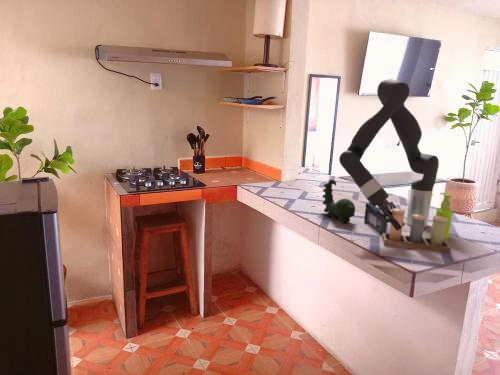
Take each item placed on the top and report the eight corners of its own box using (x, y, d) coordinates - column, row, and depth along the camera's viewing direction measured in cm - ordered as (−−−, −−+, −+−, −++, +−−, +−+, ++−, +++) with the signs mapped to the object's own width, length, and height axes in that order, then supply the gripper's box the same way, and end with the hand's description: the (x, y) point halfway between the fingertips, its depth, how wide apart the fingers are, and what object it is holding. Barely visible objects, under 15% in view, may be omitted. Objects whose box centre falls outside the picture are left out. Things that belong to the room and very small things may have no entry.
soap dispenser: (441, 237, 164) (449, 192, 160) (450, 243, 158) (458, 196, 153) (428, 236, 164) (435, 191, 159) (436, 242, 157) (444, 195, 153)
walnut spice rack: (381, 240, 157) (382, 232, 156) (444, 248, 152) (445, 240, 151) (383, 248, 149) (384, 239, 148) (449, 256, 144) (450, 247, 143)
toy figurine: (317, 215, 194) (344, 227, 170) (318, 178, 191) (346, 185, 168) (333, 214, 197) (362, 225, 173) (334, 177, 194) (364, 184, 171)
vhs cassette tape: (363, 223, 179) (365, 202, 177) (369, 223, 180) (372, 202, 177) (379, 237, 162) (381, 214, 159) (385, 237, 162) (388, 214, 160)
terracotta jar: (387, 236, 154) (391, 207, 152) (400, 237, 153) (404, 209, 150) (388, 240, 150) (392, 211, 147) (401, 241, 149) (405, 212, 146)
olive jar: (427, 244, 151) (432, 215, 148) (440, 245, 150) (445, 216, 147) (430, 248, 146) (434, 218, 144) (443, 250, 145) (448, 220, 143)
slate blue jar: (407, 241, 153) (411, 213, 150) (420, 243, 152) (424, 214, 149) (409, 246, 148) (413, 216, 146) (422, 247, 147) (426, 218, 144)
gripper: (376, 190, 145) (405, 227, 141) (386, 184, 157) (413, 218, 153) (360, 201, 149) (388, 237, 145) (372, 194, 161) (398, 227, 157)
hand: (401, 227), depth 149 cm, fingers closed on terracotta jar, 4 cm apart
